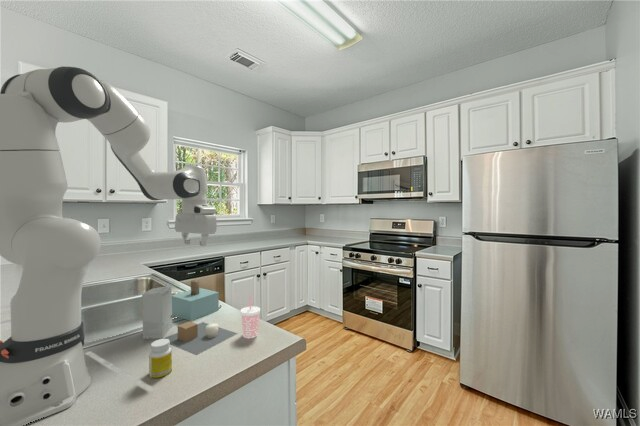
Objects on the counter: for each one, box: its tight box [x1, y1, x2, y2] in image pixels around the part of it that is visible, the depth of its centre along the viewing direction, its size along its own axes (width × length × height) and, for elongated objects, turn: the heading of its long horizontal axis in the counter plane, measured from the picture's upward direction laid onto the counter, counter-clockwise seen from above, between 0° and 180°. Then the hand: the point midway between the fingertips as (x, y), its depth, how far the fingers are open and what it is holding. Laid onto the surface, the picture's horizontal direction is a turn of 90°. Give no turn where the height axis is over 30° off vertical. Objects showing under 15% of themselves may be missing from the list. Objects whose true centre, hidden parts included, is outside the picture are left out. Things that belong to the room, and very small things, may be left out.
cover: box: [172, 279, 220, 322], centre depth 106 cm, size 12×12×13 cm
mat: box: [162, 320, 239, 356], centre depth 87 cm, size 15×17×5 cm
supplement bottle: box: [148, 338, 173, 379], centre depth 68 cm, size 5×5×8 cm
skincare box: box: [141, 286, 173, 340], centre depth 89 cm, size 8×6×15 cm
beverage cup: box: [240, 293, 261, 339], centre depth 88 cm, size 6×6×14 cm
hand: (194, 244), depth 106 cm, fingers open, 8 cm apart
